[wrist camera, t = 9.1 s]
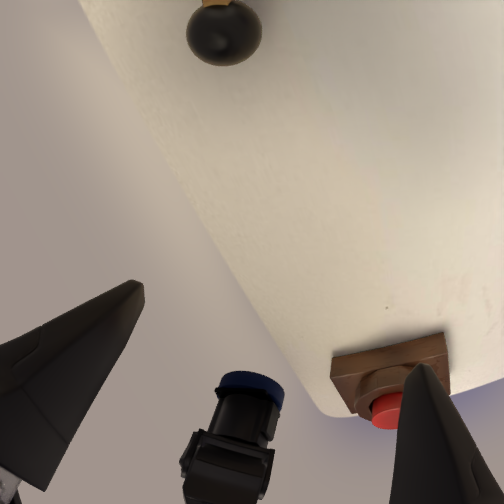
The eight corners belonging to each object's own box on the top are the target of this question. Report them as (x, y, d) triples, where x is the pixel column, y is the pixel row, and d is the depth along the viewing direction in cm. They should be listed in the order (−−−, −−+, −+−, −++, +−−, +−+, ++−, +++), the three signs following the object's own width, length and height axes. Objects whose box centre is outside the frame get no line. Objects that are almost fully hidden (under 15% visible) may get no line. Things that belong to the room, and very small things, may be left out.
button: (377, 415, 25) (376, 432, 23) (367, 395, 23) (367, 413, 22) (420, 407, 23) (420, 424, 21) (415, 385, 21) (416, 404, 20)
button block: (352, 396, 30) (350, 429, 26) (331, 357, 27) (327, 395, 23) (447, 376, 25) (452, 411, 22) (443, 331, 22) (451, 371, 19)
